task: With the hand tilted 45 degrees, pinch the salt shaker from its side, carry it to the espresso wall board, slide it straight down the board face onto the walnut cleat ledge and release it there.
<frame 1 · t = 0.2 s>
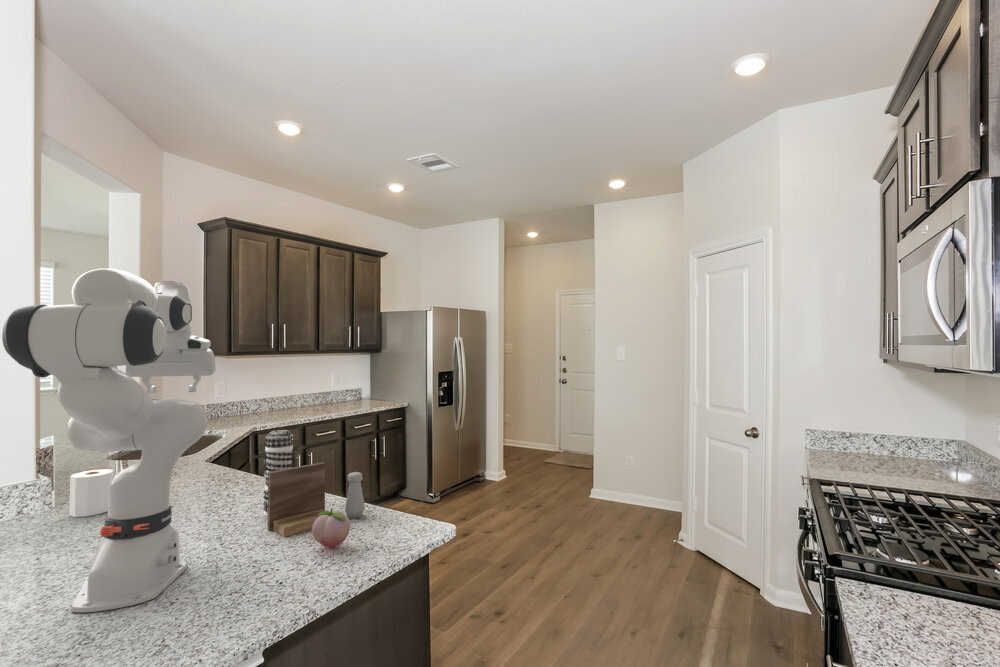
hand: (172, 392, 130), 39 cm above the countertop, tool pointing down, fingers open, 8 cm apart
decorative candle: (278, 512, 149), on the countertop
cleat board: (304, 527, 136), on the countertop
salt shaker: (354, 516, 144), on the countertop
toilet paper: (91, 512, 150), on the countertop
decorative fruit: (332, 548, 121), on the countertop
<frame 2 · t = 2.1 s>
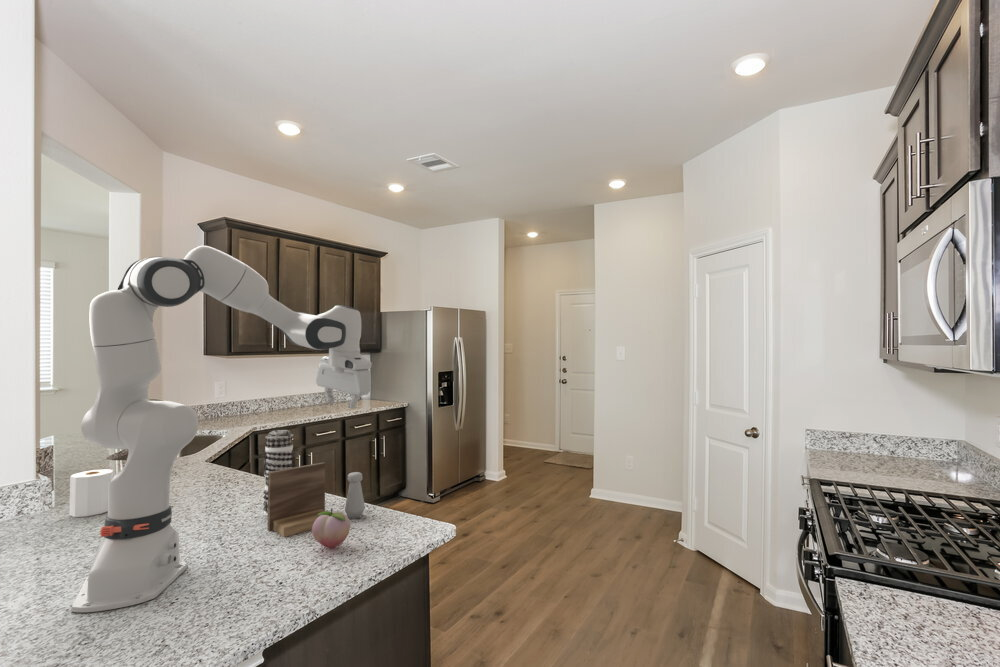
hand: (341, 405, 144), 34 cm above the countertop, tool pointing down, fingers open, 8 cm apart
nothing on the countertop moved.
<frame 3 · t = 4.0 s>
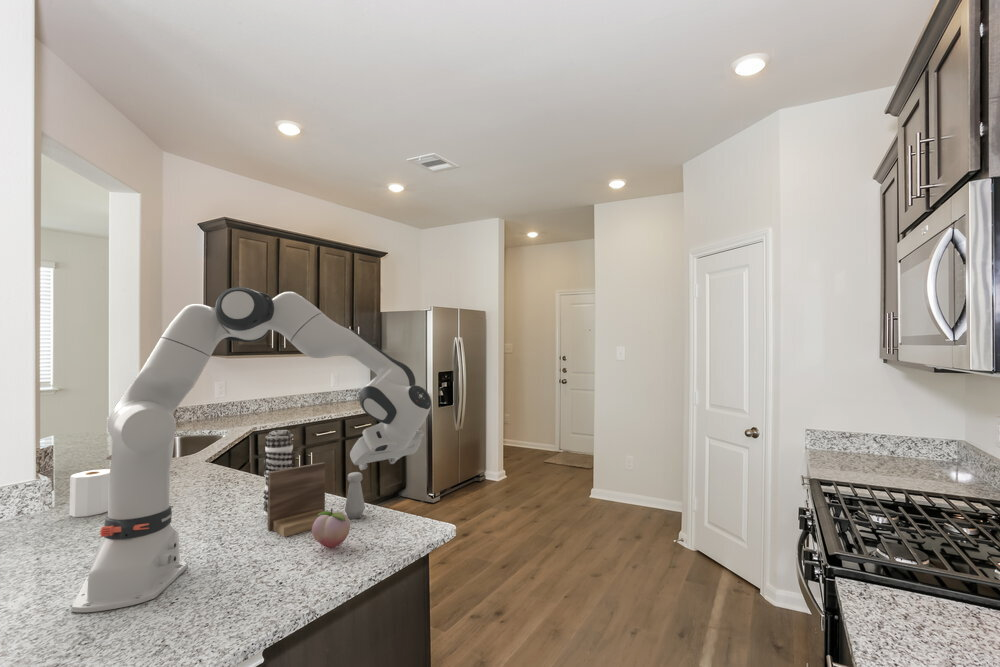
hand: (376, 464, 136), 17 cm above the countertop, tool tilted 45°, fingers open, 8 cm apart
nothing on the countertop moved.
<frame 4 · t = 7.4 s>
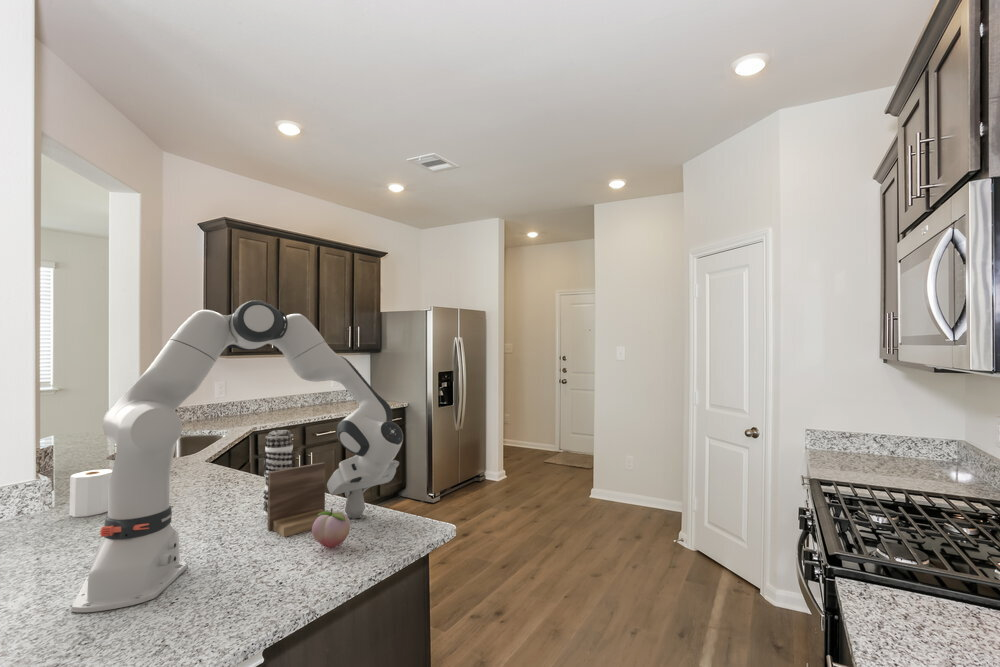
hand: (353, 492, 145), 7 cm above the countertop, tool tilted 45°, fingers closed on salt shaker, 3 cm apart
salt shaker: (354, 516, 144), on the countertop, touching gripper
everything else where it was.
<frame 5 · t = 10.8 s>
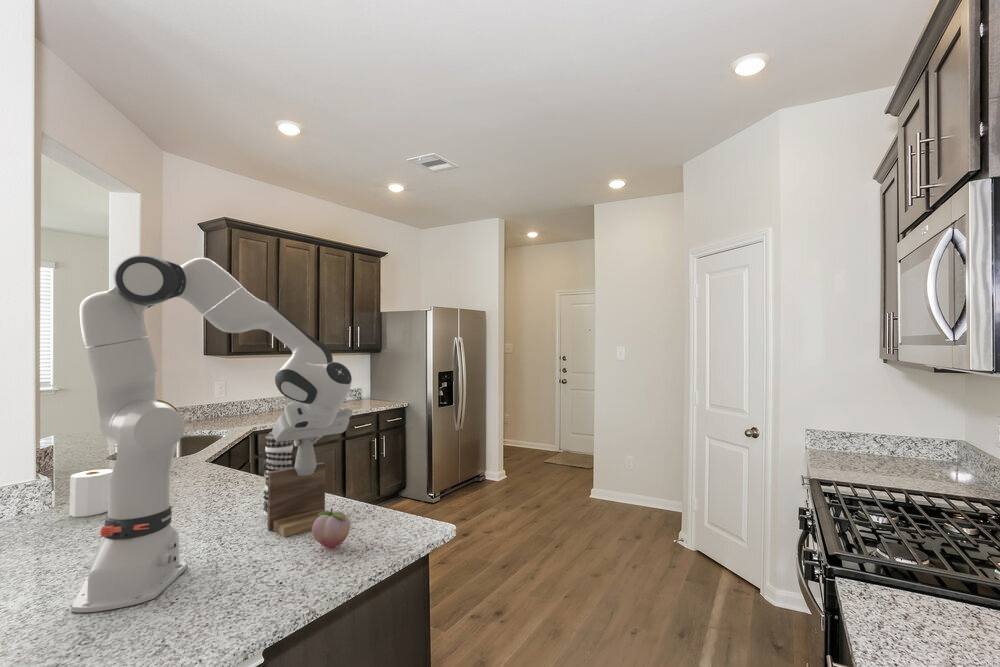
hand: (304, 443, 137), 24 cm above the countertop, tool tilted 45°, fingers closed on salt shaker, 3 cm apart
salt shaker: (305, 474, 136), point 15 cm above the countertop, touching gripper
everything else where it was.
when the fingers open (11 cm above the countertop, at t = 13.2 s): salt shaker stays where it is, resting on cleat board.
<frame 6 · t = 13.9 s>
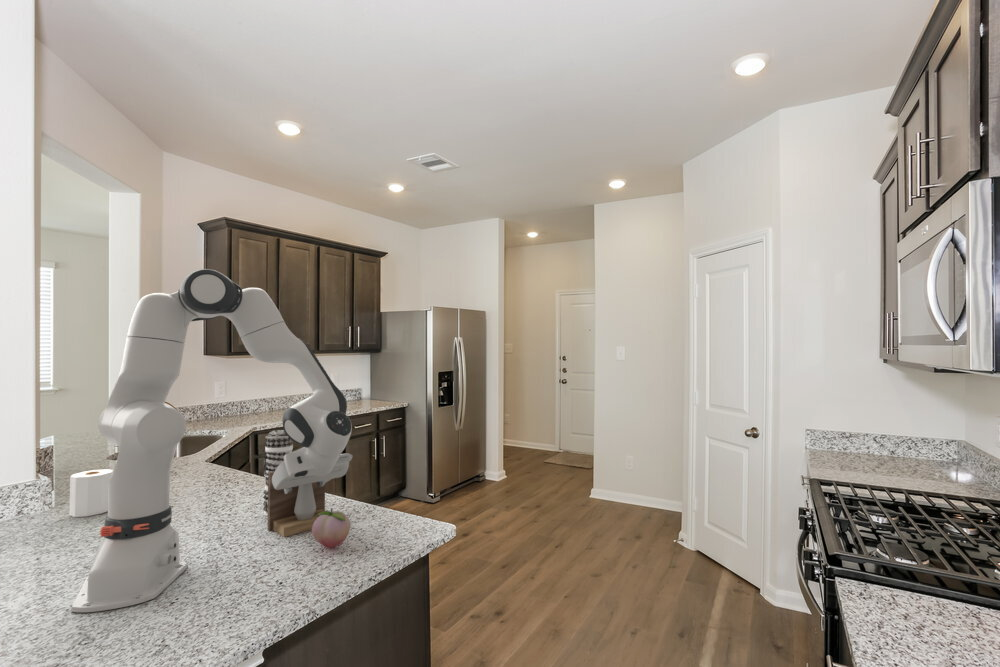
hand: (303, 487, 136), 11 cm above the countertop, tool tilted 45°, fingers open, 8 cm apart
salt shaker: (305, 518, 136), point 2 cm above the countertop, touching cleat board
everything else where it was.
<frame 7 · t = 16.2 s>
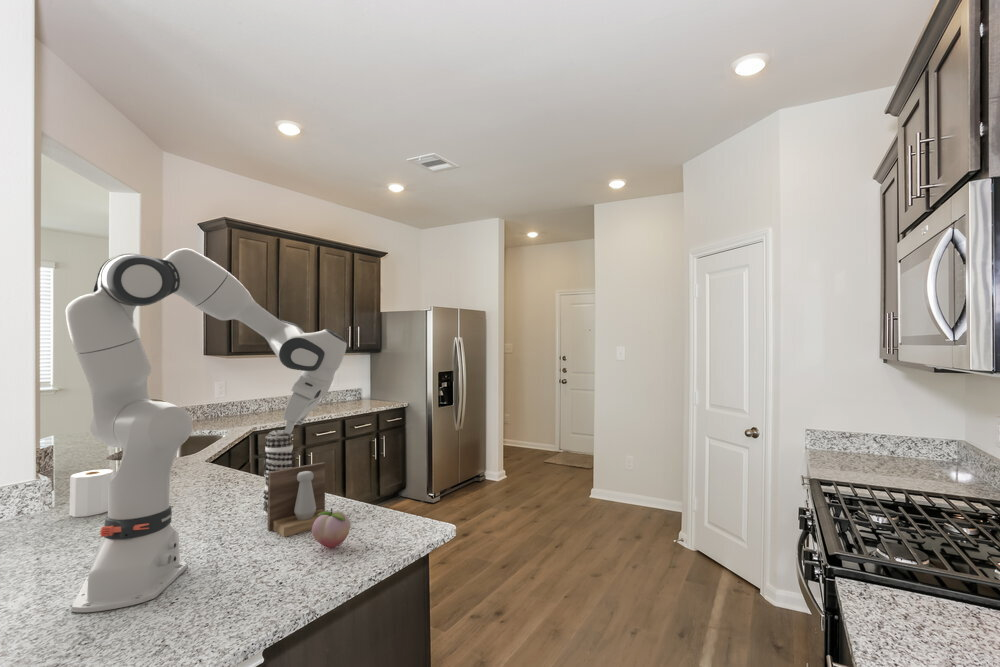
hand: (293, 428, 137), 28 cm above the countertop, tool tilted 25°, fingers open, 8 cm apart
nothing on the countertop moved.
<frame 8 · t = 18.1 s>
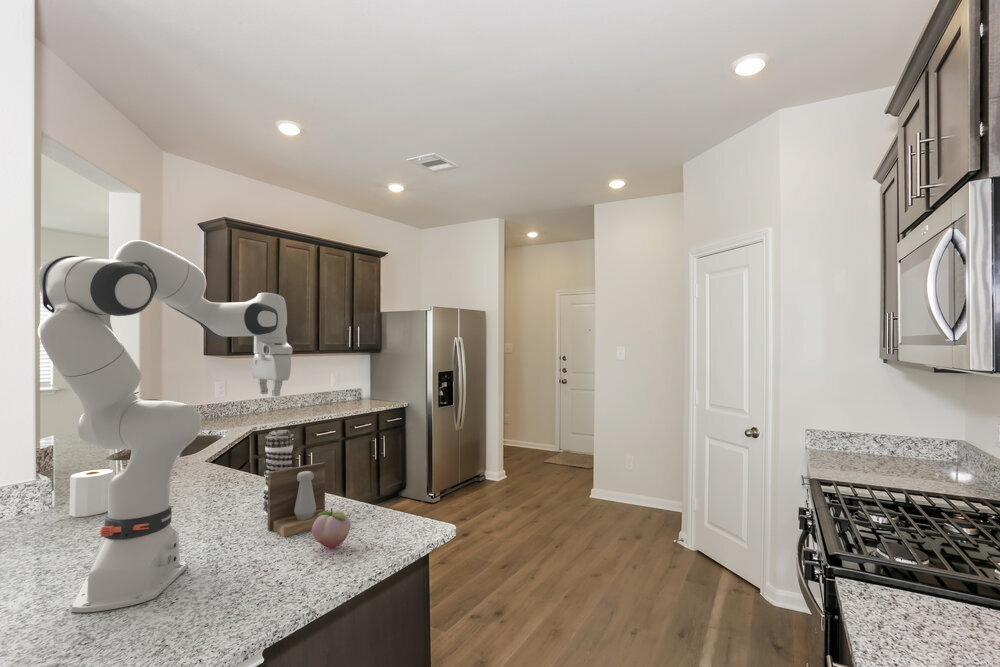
hand: (269, 395, 141), 37 cm above the countertop, tool pointing down, fingers open, 8 cm apart
nothing on the countertop moved.
at the end: salt shaker 0.2 cm from the cleat board (horizontally); salt shaker point 2.3 cm above the countertop; salt shaker tilted 0° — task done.
